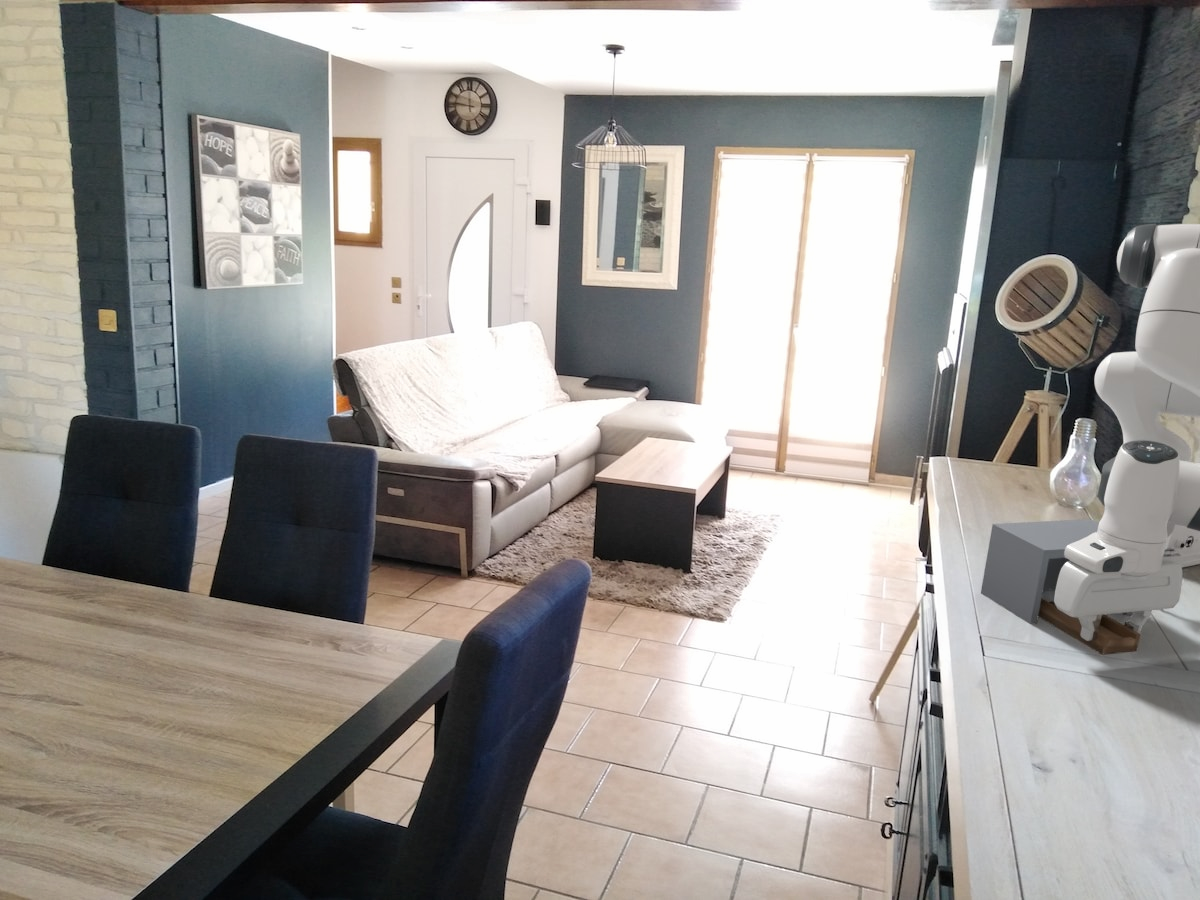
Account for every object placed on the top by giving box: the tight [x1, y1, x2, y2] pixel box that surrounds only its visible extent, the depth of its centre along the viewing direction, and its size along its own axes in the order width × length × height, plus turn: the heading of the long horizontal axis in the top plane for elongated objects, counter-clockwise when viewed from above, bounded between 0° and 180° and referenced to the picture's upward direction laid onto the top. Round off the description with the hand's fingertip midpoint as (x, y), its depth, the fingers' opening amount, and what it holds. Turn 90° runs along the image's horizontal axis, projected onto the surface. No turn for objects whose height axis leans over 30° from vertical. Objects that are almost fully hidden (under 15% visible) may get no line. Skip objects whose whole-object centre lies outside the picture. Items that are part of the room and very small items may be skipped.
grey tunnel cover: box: [980, 518, 1134, 625], centre depth 149 cm, size 20×12×12 cm, turn 105°
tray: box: [1038, 598, 1142, 656], centre depth 140 cm, size 6×14×5 cm, turn 16°
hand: (1109, 636), depth 136 cm, fingers closed on tray, 6 cm apart
